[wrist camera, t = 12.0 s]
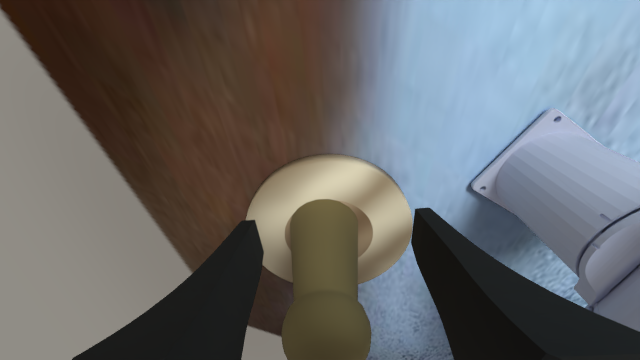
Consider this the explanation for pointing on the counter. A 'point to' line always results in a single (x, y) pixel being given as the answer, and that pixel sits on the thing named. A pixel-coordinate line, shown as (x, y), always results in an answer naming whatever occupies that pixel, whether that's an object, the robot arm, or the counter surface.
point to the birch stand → (340, 185)
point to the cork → (325, 286)
